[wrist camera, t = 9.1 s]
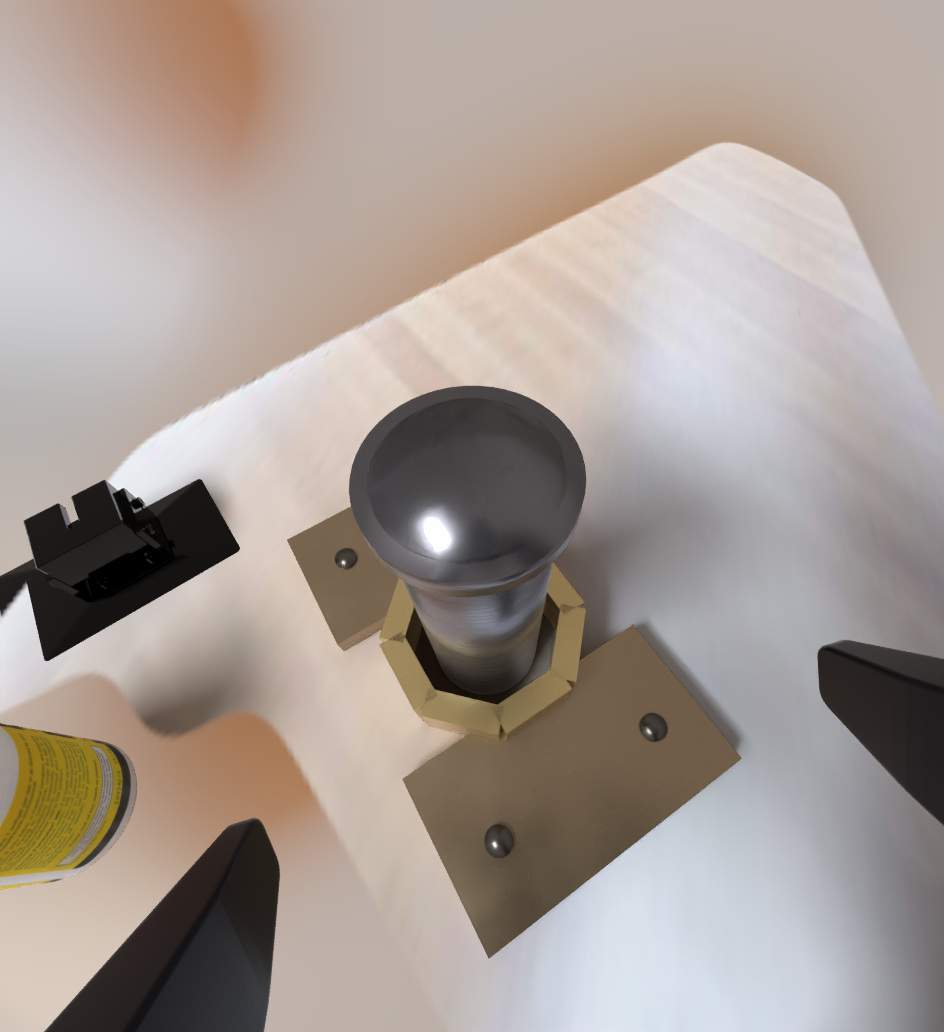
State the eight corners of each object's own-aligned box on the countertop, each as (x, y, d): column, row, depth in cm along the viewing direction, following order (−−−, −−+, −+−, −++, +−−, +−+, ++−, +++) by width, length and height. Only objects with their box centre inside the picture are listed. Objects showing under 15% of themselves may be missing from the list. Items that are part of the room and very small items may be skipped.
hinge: (731, 760, 20) (759, 754, 17) (489, 951, 17) (487, 971, 15) (482, 449, 28) (480, 419, 26) (294, 549, 25) (274, 524, 23)
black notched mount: (226, 461, 29) (182, 406, 25) (278, 553, 26) (237, 507, 22) (-2, 581, 26) (-92, 540, 22) (25, 703, 23) (-75, 680, 19)
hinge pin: (569, 661, 22) (637, 501, 11) (465, 730, 21) (419, 632, 10) (502, 567, 24) (500, 356, 13) (406, 625, 23) (313, 447, 12)
